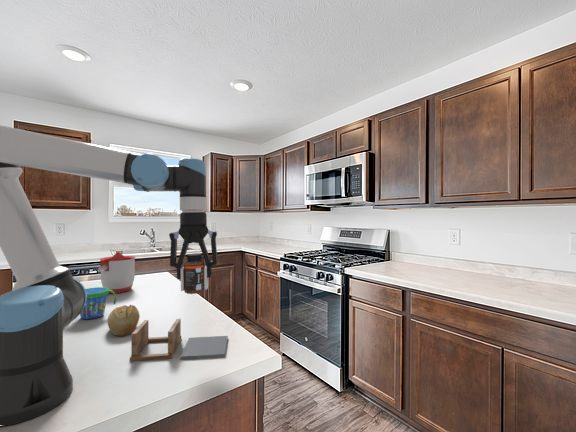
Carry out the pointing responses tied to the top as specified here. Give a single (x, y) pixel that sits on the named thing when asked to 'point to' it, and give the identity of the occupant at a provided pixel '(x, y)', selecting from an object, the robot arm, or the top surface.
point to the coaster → (205, 347)
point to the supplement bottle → (194, 274)
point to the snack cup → (95, 302)
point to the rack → (141, 340)
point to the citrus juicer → (117, 272)
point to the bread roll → (123, 320)
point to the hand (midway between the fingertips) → (194, 288)
